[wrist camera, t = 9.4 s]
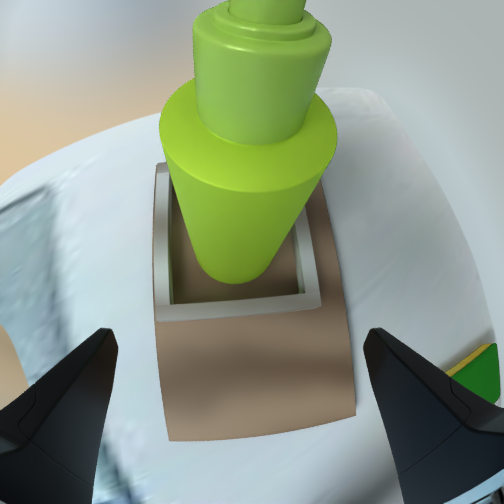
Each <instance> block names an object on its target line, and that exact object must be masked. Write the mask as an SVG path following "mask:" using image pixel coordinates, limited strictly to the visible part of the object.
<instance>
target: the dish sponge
mask: <svg viewBox="0 0 504 504" xmlns="http://www.w3.org/2000/svg"><path fill="white" fill-rule="evenodd" d="M445 373H446V374H447V375H449V377H452V378H453V379H454V380H456V381H457V382H459V383H460V384H461V385H463V386H464V387H466V388H467V389H469V390H471V391H472V392H474V393H475V394H477V395H479V396H481V397H482V398H484V399H486V400H487V401H489V402H491V403H492V404H494V403H495V402H496V401H497V400H498V399H499V397H500V373H499V360H498V350H497V344H496V343H493V344H491V343H490V344H483V345H482V346H480V347H479V348H478V349H477V350H475V351H474V352H473V353H471V354H470V355H469V356H468V357H466V358H465V359H464V360H462V361H461V362H460V363H458V364H457V365H455V366H454V367H453V368H451V369H450V370H448V371H447V372H445Z"/></svg>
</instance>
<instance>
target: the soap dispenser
mask: <svg viewBox="0 0 504 504" xmlns="http://www.w3.org/2000/svg"><path fill="white" fill-rule="evenodd" d="M305 3H306V0H228V1H225V2H223V3H220V4H219V5H217V6H215V7H212V8H210V9H208V10H206V11H204V12H202V13H201V14H200V15H199V16H198V17H197V18H196V19H195V21H194V23H193V56H194V73H195V74H194V75H195V78H193V79H192V80H190V81H188V82H187V83H185V84H184V85H182V86H181V87H180V88H179V89H178V90H177V91H175V92H174V93H173V95H172V96H171V97H170V98H169V100H168V101H167V103H166V104H165V106H164V108H163V110H162V113H161V117H160V122H159V133H160V139H161V143H162V146H163V150H164V154H165V157H166V161H167V165H168V168H169V172H170V175H171V179H172V182H173V185H174V189H175V192H176V196H177V199H178V202H179V206H180V209H181V212H182V215H183V218H184V222H185V225H186V228H187V231H188V234H189V237H190V240H191V243H192V246H193V249H194V252H195V255H196V258H197V261H198V263H199V265H200V266H201V268H202V269H203V270H204V271H205V272H206V273H207V274H208V275H209V276H210V277H212V278H214V279H215V280H217V281H220V282H223V283H227V284H242V283H246V282H249V281H251V280H254V279H255V278H257V277H258V276H260V275H261V274H262V273H263V272H264V271H265V270H266V269H267V267H268V266H269V264H270V262H271V261H272V259H273V257H274V256H275V254H276V252H277V251H278V249H279V247H280V246H281V244H282V243H283V241H284V239H285V237H286V236H287V234H288V232H289V231H290V229H291V227H292V226H293V224H294V222H295V221H296V219H297V217H298V216H299V214H300V212H301V211H302V209H303V207H304V205H305V204H306V202H307V200H308V199H309V197H310V195H311V194H312V192H313V190H314V188H315V187H316V185H317V183H318V181H319V180H320V178H321V176H322V175H323V173H324V171H325V169H326V168H327V166H328V164H329V162H330V161H331V159H332V157H333V155H334V152H335V149H336V145H337V128H336V124H335V121H334V118H333V116H332V114H331V112H330V110H329V108H328V107H327V105H326V104H325V103H324V102H323V100H322V99H321V98H320V97H319V96H318V95H317V94H316V93H315V89H316V87H317V84H318V81H319V78H320V76H321V73H322V70H323V67H324V64H325V61H326V59H327V56H328V53H329V50H330V47H331V42H332V38H331V35H330V33H329V31H328V30H327V28H326V27H325V26H324V25H323V24H322V23H320V22H319V21H318V20H316V19H315V18H314V17H313V16H312V15H311V14H310V13H308V12H307V11H306V10H304V7H305Z"/></svg>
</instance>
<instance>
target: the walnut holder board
mask: <svg viewBox="0 0 504 504" xmlns="http://www.w3.org/2000/svg"><path fill="white" fill-rule="evenodd" d="M152 267H153V303H154V322H155V336H156V348H157V359H158V369H159V378H160V386H161V393H162V401H163V407H164V414H165V420H166V426H167V432H168V437H169V441H211V440H227V439H238V438H248V437H256V436H264V435H271V434H277V433H283V432H289V431H295V430H300V429H305V428H309V427H314V426H318V425H323V424H327V423H331V422H335V421H338V420H342V419H346V418H349V417H353V416H356V406H355V391H354V378H353V366H352V356H351V347H350V338H349V330H348V322H347V315H346V308H345V301H344V294H343V288H342V282H341V276H340V270H339V264H338V259H337V253H336V248H335V243H334V238H333V233H332V228H331V224H330V219H329V214H328V210H327V205H326V201H325V197H324V193H323V188H322V184H321V180H319V181H318V183H317V185H316V187H315V188H314V190H313V192H312V194H311V195H310V197H309V199H308V200H307V202H306V204H305V205H304V207H303V209H302V211H301V212H300V214H299V216H298V217H297V219H296V221H295V222H294V224H293V226H292V227H291V229H290V231H289V232H288V234H287V236H286V237H285V239H284V241H283V243H282V244H281V246H280V247H279V249H278V251H277V252H276V254H275V256H274V257H273V259H272V261H271V262H270V264H269V266H268V267H267V269H266V270H265V271H264V272H263V273H262V274H261V275H260V276H258V277H257V278H255V279H254V280H251V281H249V282H246V283H242V284H227V283H223V282H220V281H217V280H215V279H214V278H212V277H210V276H209V275H208V274H207V273H206V272H205V271H204V270H203V269H202V268H201V266H200V265H199V263H198V261H197V258H196V255H195V252H194V249H193V246H192V243H191V240H190V237H189V234H188V231H187V228H186V225H185V222H184V218H183V215H182V212H181V209H180V206H179V202H178V199H177V196H176V192H175V189H174V185H173V182H172V179H171V175H170V172H169V168H168V165H167V162H164V163H158V164H157V165H156V174H155V189H154V207H153V243H152Z"/></svg>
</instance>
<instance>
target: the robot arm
mask: <svg viewBox="0 0 504 504" xmlns="http://www.w3.org/2000/svg"><path fill="white" fill-rule="evenodd" d="M363 351H364V355H365V359H366V364H367V368H368V372H369V377H370V381H371V385H372V389H373V392H374V395H375V398H376V401H377V404H378V407H379V410H380V413H381V417H382V420H383V423H384V427H385V430H386V433H387V437H388V440H389V444H390V447H391V451H392V455H393V458H394V462H395V466H396V470H397V474H398V475H399V476H398V478H399V483H400V487H401V491H402V495H403V500H404V504H504V408H501V407H498V406H496V405H494V404H492V403H491V402H489V401H487V400H486V399H484V398H482V397H481V396H479V395H477V394H475V393H474V392H472V391H471V390H469V389H467V388H466V387H464V386H463V385H461V384H460V383H459V382H457V381H456V380H454V379H453V378H452V377H449V375H447V374H446V373H445V372H443V371H442V370H440V369H439V368H438V367H436V366H435V365H433V364H432V363H431V362H429V361H428V360H426V359H425V358H424V357H422V356H421V355H419V354H418V353H417V352H415V351H414V350H412V349H411V348H410V347H408V346H407V345H405V344H404V343H402V342H401V341H400V340H398V339H397V338H395V337H394V336H393V335H391V334H390V333H388V332H387V331H385V330H384V329H383V328H372V329H370V331H369V333H368V335H367V338H366V340H365V342H364V345H363ZM117 355H118V345H117V342H116V339H115V336H114V333H113V331H112V329H110V328H100V329H98V330H97V331H96V332H95V333H93V334H92V335H91V336H90V337H89V338H87V339H86V340H85V341H84V342H82V343H81V344H80V345H79V346H78V347H76V348H75V349H74V350H73V351H72V352H70V353H69V354H68V355H67V356H66V357H64V358H63V359H62V360H61V361H60V362H59V363H57V364H56V365H55V366H54V367H53V368H51V369H50V370H49V371H48V372H47V373H46V374H44V375H43V376H42V377H41V378H40V379H39V380H38V381H36V382H35V384H33V385H32V386H31V387H29V388H28V389H27V390H26V391H25V392H24V393H22V394H21V395H20V396H19V397H18V398H16V399H15V400H14V401H12V402H11V403H10V404H9V405H7V406H6V407H4V408H3V409H2V410H0V504H92V496H93V486H94V479H95V472H96V466H97V459H98V454H99V448H100V443H101V437H102V432H103V428H104V423H105V418H106V414H107V409H108V405H109V401H110V397H111V393H112V388H113V382H114V375H115V368H116V361H117Z"/></svg>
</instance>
